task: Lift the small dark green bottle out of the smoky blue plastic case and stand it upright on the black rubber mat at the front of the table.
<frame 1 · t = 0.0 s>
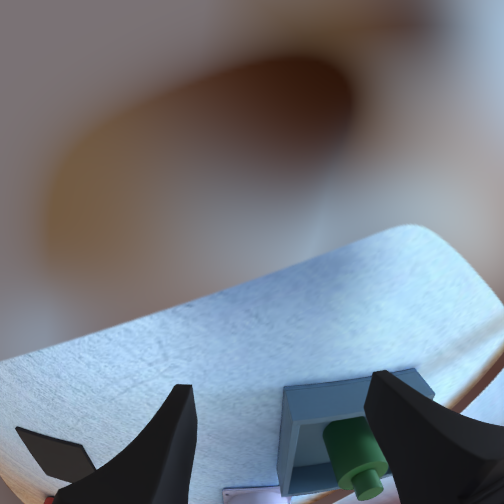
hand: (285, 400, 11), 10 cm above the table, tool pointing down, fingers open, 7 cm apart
case: (343, 426, 25), on the table
bottle: (344, 429, 24), resting on case
mat: (62, 461, 25), on the table
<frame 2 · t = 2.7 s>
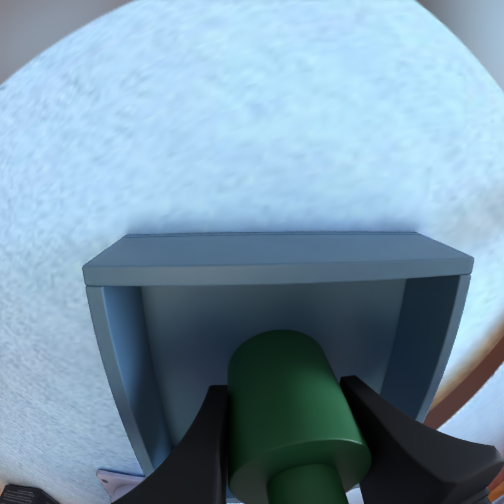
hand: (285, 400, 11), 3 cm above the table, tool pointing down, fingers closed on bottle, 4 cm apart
case: (276, 364, 13), on the table
box: (40, 499, 18), on the table
bottle: (277, 371, 13), point 1 cm above the table, touching case, gripper
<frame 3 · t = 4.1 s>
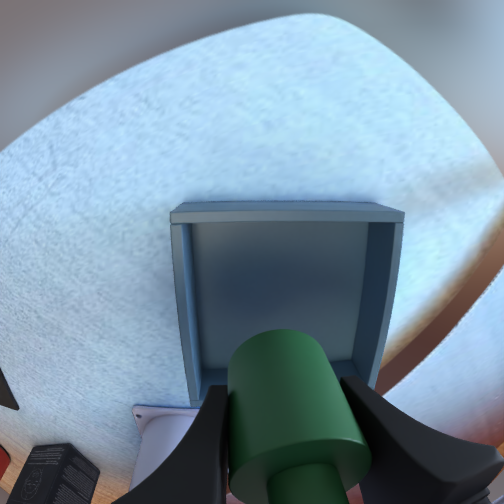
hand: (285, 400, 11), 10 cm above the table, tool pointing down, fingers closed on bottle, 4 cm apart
case: (281, 294, 20), on the table
box: (66, 458, 25), on the table
bottle: (277, 370, 13), point 8 cm above the table, touching gripper
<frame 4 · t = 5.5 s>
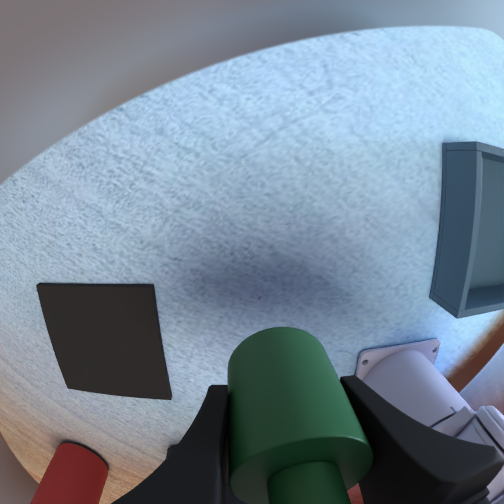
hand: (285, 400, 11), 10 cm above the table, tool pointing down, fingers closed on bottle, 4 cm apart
case: (488, 224, 20), on the table
bottle: (278, 369, 13), point 8 cm above the table, touching gripper
mat: (103, 343, 21), on the table
beer can: (84, 456, 25), on the table
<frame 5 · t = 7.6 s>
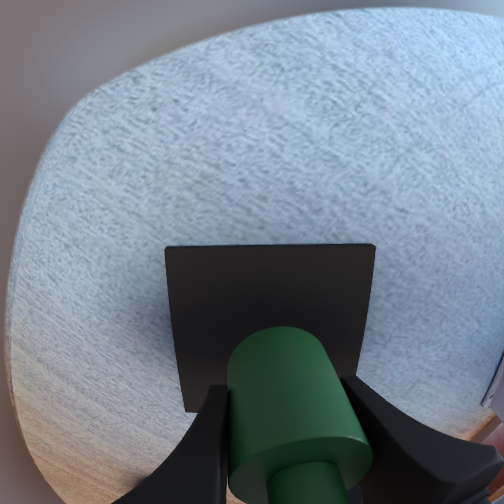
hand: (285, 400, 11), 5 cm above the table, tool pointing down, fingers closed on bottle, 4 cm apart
bottle: (277, 368, 13), point 3 cm above the table, touching gripper
mat: (271, 338, 16), on the table
when the fingers open (2 cm above the table, at t = 8.8 s): bottle stays where it is, resting on mat.
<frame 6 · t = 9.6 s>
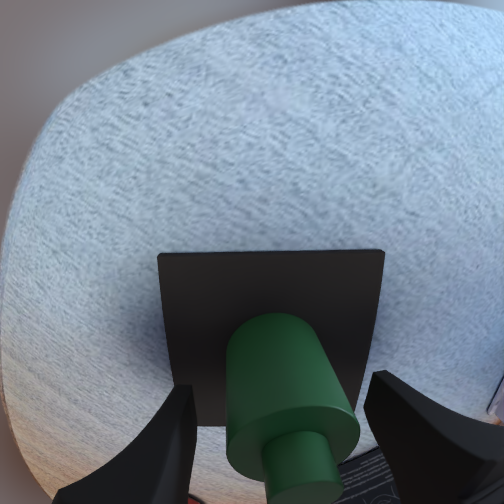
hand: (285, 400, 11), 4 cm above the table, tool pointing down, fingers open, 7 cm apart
box: (365, 467, 19), on the table
bottle: (273, 353, 14), resting on mat
mat: (272, 350, 15), on the table
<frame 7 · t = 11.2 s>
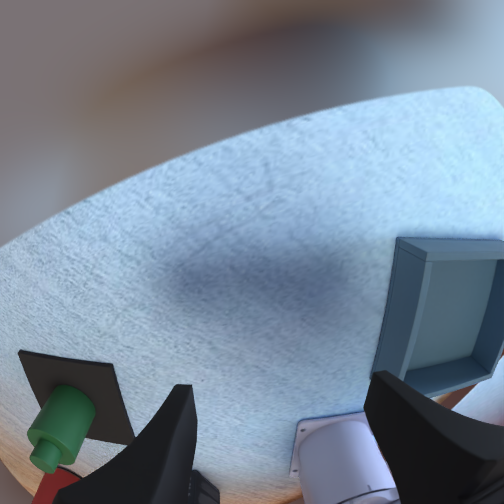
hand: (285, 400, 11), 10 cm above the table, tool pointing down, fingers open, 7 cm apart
case: (443, 309, 22), on the table
box: (179, 484, 26), on the table
bottle: (74, 403, 22), resting on mat
mat: (77, 401, 22), on the table
beer can: (69, 478, 26), on the table
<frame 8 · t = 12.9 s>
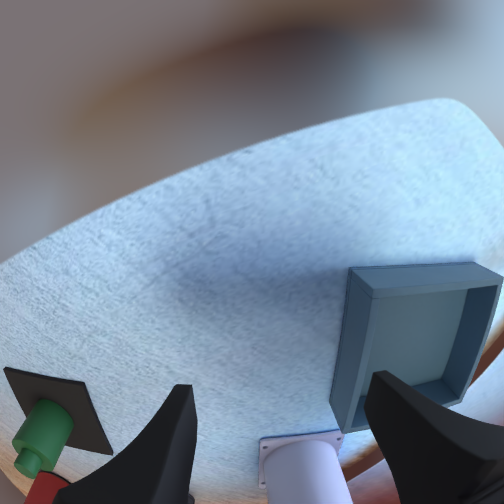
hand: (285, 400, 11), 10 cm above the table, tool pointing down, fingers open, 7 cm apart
case: (407, 335, 22), on the table
bottle: (54, 415, 22), resting on mat
mat: (57, 413, 23), on the table
beer can: (58, 482, 27), on the table
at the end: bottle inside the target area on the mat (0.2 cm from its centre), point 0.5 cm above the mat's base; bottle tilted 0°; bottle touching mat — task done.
